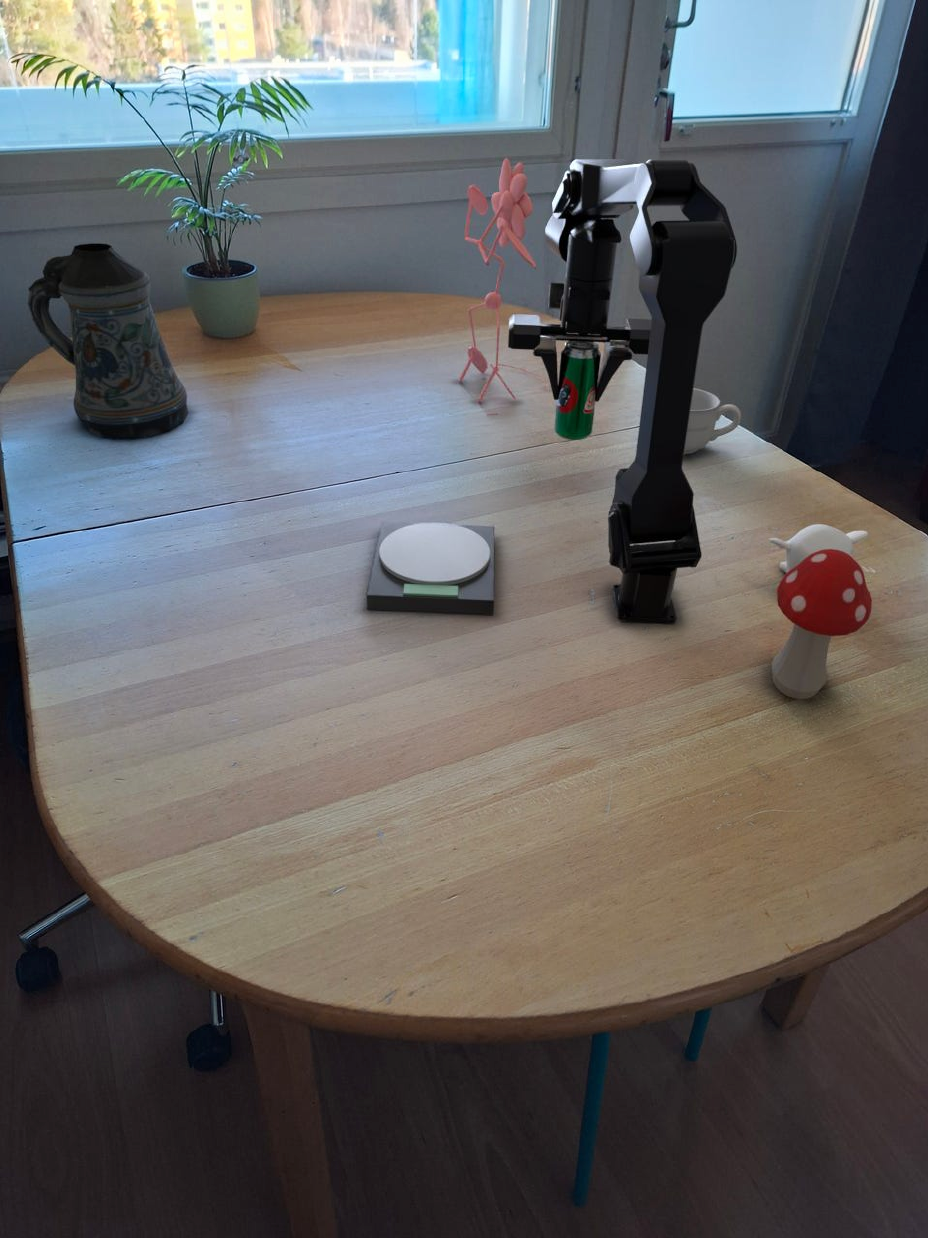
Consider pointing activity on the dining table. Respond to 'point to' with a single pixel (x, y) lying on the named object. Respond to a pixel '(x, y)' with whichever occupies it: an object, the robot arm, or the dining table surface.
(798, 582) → the decorative mushroom
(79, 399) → the beer stein
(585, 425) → the soda can
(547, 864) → the dining table surface
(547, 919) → the dining table surface
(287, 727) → the dining table surface
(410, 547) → the kitchen scale
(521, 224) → the figurine
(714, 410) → the teacup
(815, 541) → the figurine
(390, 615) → the dining table surface
